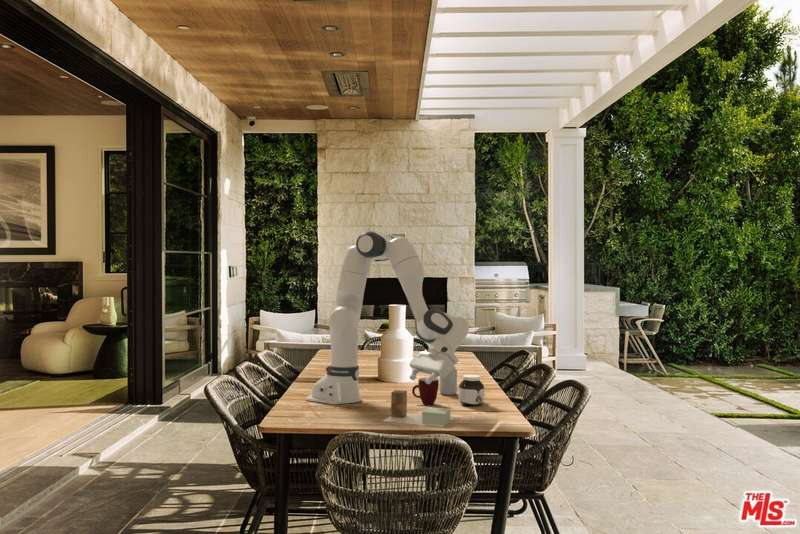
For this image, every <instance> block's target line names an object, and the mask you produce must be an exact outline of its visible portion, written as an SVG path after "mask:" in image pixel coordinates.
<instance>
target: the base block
mask: <svg viewBox="0 0 800 534" xmlns="http://www.w3.org/2000/svg"><path fill="white" fill-rule="evenodd" d="M421 415H422V423H424V424H435V425H444V426H446V425H445V424H448V423H449V422H450V421H451V420H450V417H451V409H450V408H443V407H442V408H441V407H439V408H438V407H427V408H425V409H424V410H422V411H421Z"/></svg>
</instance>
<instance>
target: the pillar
mask: <svg viewBox="0 0 800 534" xmlns="http://www.w3.org/2000/svg"><path fill="white" fill-rule="evenodd" d="M390 395H391V397H390V398H391V399H390V400H391V403H390V404H391V405H390V412H391V413H390V416H391V417H395V418H404V417H405V416H407V413H408V411H407V410H408V407H407V405H408V402H407V401H408V398H407V397H408V391H407V390H400V389H398V390H397V389H395V390H393V391H391V394H390Z"/></svg>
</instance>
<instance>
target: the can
mask: <svg viewBox="0 0 800 534" xmlns="http://www.w3.org/2000/svg"><path fill="white" fill-rule="evenodd" d="M456 368H457V367H456V366H454V368H453V369H452V370H451V372H450V373H449V374H448V375H447V376H446V377H440V376H439V393H440V394H441V395H442V394H443V396H448V395H450V396H455V395H456V394H457V393H458V370H457V369H456Z"/></svg>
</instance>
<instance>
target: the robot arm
mask: <svg viewBox="0 0 800 534" xmlns="http://www.w3.org/2000/svg"><path fill="white" fill-rule="evenodd" d="M383 261H385V262H386V261H389V262H390V264H391V266H392V268H393V271H394V273H395V275H396V277H397V279H398V281H399V283H400V285H401V287H402V290H403V292H404V294H405V297H406V300H407V302H408V304H409V308H410V310H411V314H412V316H413V318H414V325H415V330H414V331H415V335H416V336H417V338H418V339H419V340H420V341H421V342H424V343H426V344H430V346H429V347H428V349H425V350H422V351H419V352H418V353H417V354H416V355H415V356H414V357H413V358H412V360H410V362H409V366H410V368H411V369H412V371H411V374H410V376H409V379H410V380H411V381H415V380H416V379H417V375H418V374H419V372H420V373H423V374H428V375H429V376H428V377H425V378H426V379H425V382H426V383H427V384H430V383H431V382H432V381H433V380H435V379H438V377H439V378H440V377H446V376H447V375H448V374H449V373H450V372H451V370H452V369H453V368H454V367H455V365H457V363H458V362H459V358H458V357H457V356H456V355H455V352H456V350H457V349H458V348H459V347H460V346H461V345H462V343H463V342H464V341H465V339H466V337H467V336H468V333H469V332H470V327H469V324H468V322H467V320H466V319H465V318H464V317H462V316H461V315H459V314H456V315H455V314H454V315H453V314H449V313H446V312H444V311H443V310H441V309H440V308H429V309H428V306H427V304H426V300H425V298H424V296H423V281H424V277H425V269H424V267H423V264H422V260H421V258H420V256H419V254H418V252H417V251H416V249H415V248H414V246H413V245H412V243H411V241H410V240H409V239H408V238H406V237H405V236H404V237H403V236H397V237H396V238H395V237H393V236H391V235H390V234H386V233H383V232H380V231H379V232H377V231H365V232H362V233H361V234H360V235H359V236H358V237H357V239H356V242H355V244H354V245H351V246H349V247H348V248H347V251H346V253H345V255H344V258H343V260H342V265H341V268H340V272H339V273H340V274H339V278H338V284H337V289H336V299H335V305H334V309H333V310H332V311H331V312H330V314H329V323H328V324H329V337H330V338H329V339H330V365H329V366H327V367H325V368H324V371H325V372H326V374H325V375H324V376H322V377H321V378H320V379H319V380H317V381H316V382H315V383H314V384H313V386H312V390H311V394H309V395H307V396H306V401H308V402H309V401H310V402H314V403H315V402H317V403H323V404H331V405H340V404H351V403H352V404H354V403H358V402H361V401H362V397H361V393H360V387H359V377H360V367H359V364H358V362H359V345H358V344H359V343H358V328H357V327H358V325H359V323H360V321H361V314H362V309H363V302H364V295H365V294H364V293H365V289H366V283H367V280H368V279H367V278H368V273H369V269H370V265H371V263H373V262H377V263H378V262H383Z"/></svg>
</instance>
